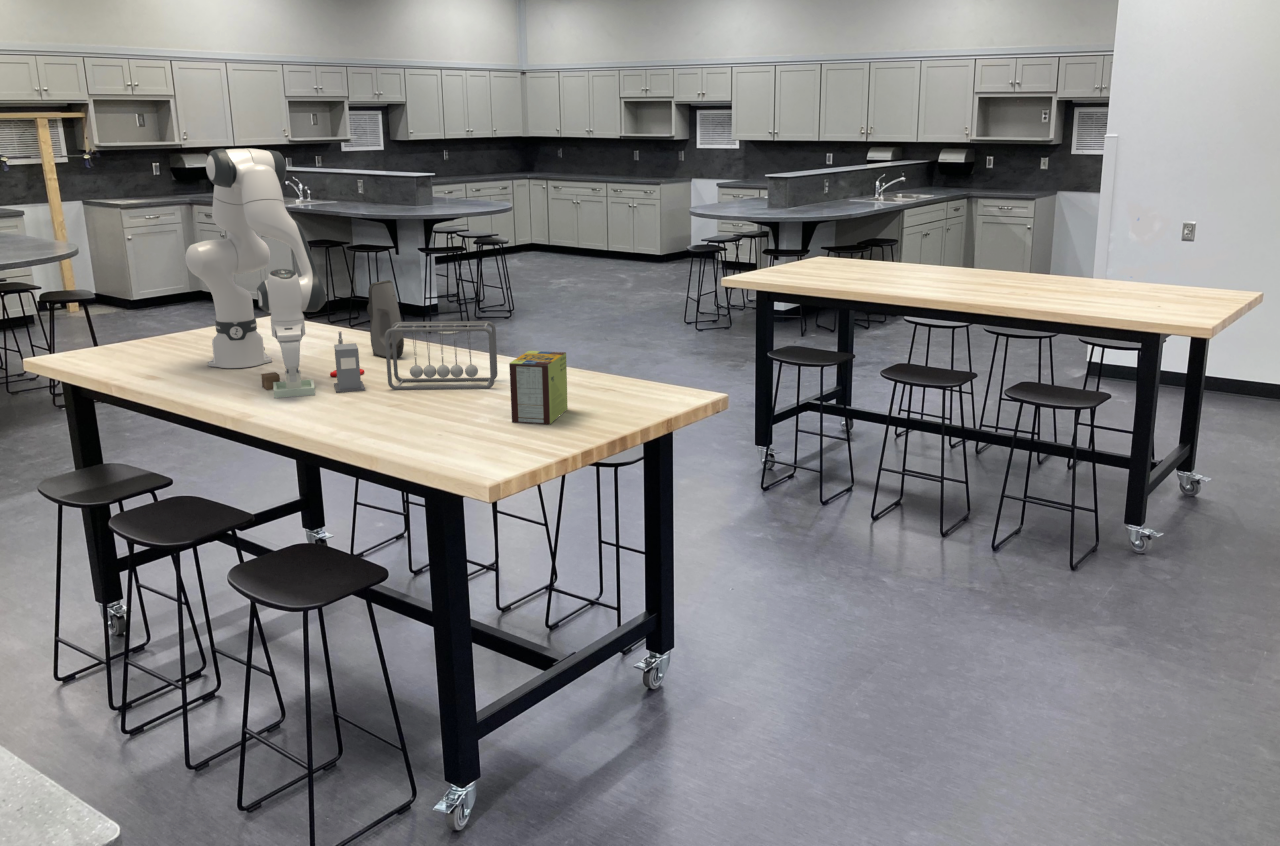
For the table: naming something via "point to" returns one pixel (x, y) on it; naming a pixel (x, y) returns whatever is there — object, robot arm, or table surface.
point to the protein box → (538, 387)
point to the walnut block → (269, 380)
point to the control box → (347, 368)
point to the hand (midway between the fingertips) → (292, 377)
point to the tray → (282, 390)
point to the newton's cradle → (442, 369)
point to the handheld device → (384, 317)
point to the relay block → (293, 384)
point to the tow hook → (340, 341)
